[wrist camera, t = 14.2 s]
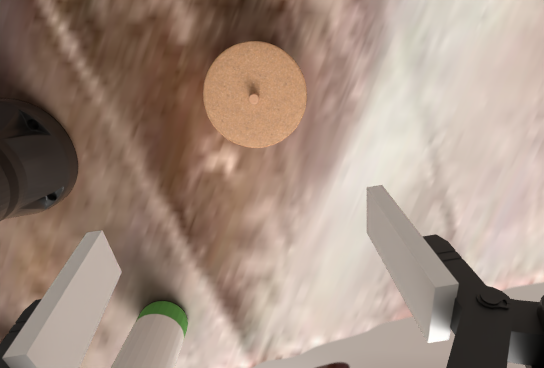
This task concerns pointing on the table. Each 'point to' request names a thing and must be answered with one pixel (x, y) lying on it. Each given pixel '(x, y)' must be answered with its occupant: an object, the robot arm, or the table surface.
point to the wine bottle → (154, 338)
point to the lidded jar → (254, 94)
